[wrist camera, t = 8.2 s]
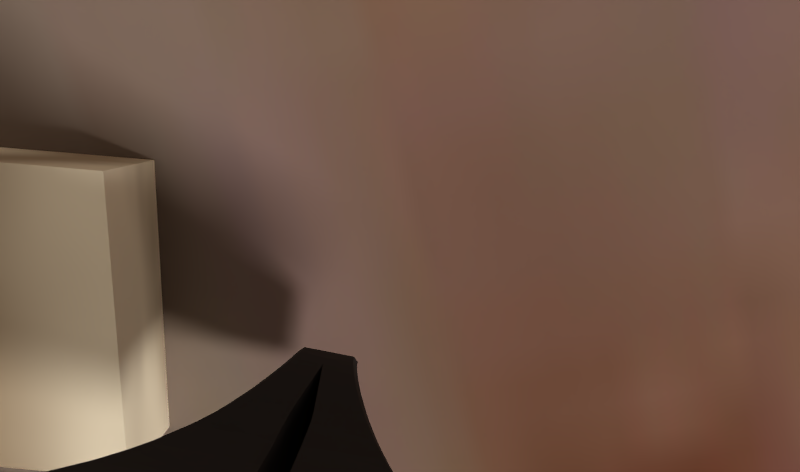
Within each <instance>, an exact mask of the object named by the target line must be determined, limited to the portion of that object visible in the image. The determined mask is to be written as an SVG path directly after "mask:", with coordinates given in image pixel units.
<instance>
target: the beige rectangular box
mask: <svg viewBox="0 0 800 472" xmlns="http://www.w3.org/2000/svg"><path fill="white" fill-rule="evenodd" d="M168 428H169V410H168V393H167V375H166V358H165V340H164V322H163V305H162V287H161V270H160V252H159V235H158V217H157V200H156V182H155V164H154V160H149V159H137V158H125V157H113V156H101V155H89V154H77V153H65V152H53V151H41V150H29V149H17V148H5V147H0V467H8V468H18V469H29V470H39V471H50V470H54V469H58V468H62V467H66V466H70V465H75V464H79V463H83V462H87V461H91V460H94V459H98V458H101V457H105V456H108V455H111V454H115V453H118V452H121V451H124V450H127V449H130V448H133V447H136V446H139V445H142V444H144V443H147V442H150V441H153V440H155V439H158V438H160V437H162V436H163V434H164V433H165V432H166V430H167V429H168Z"/></svg>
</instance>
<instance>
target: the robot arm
mask: <svg viewBox="0 0 800 472" xmlns="http://www.w3.org/2000/svg"><path fill="white" fill-rule="evenodd" d="M46 472H393V471H392V469H391V468H390V466H389V464H388V462H387V460H386V458H385V456H384V454H383V453H382V451H381V449H380V446H379V444H378V442H377V440H376V437H375V435H374V433H373V430H372V427H371V425H370V422H369V419H368V417H367V414H366V410H365V407H364V403H363V400H362V396H361V392H360V388H359V382H358V376H357V361H356V359H355V358H354V357H352V356H347V355H342V354H337V353H331V352H326V351H321V350H316V349H311V348H306V347H304V348H303V349H301V350H300V351H298V352H297V353H296V354H295V355H294V356H293V357H292V358H290V359H289V360H288V361H287V362H286V363H285V364H283V365H282V366H281V367H280V368H278V369H277V370H276V371H275V372H273V373H272V374H271V375H269V376H268V377H267V378H266V379H264V380H263V381H262V382H260V383H259V384H258V385H256V386H255V387H253V388H252V389H251V390H249V391H248V392H246V393H245V394H243V395H242V396H240V397H238V398H237V399H235V400H234V401H232V402H231V403H229V404H228V405H226V406H224V407H223V408H221V409H219V410H218V411H216V412H214V413H212V414H210V415H208V416H207V417H205V418H203V419H201V420H199V421H197V422H195V423H193V424H191V425H188V426H186V427H183V428H181V429H179V430H176V431H174V432H172V433H169V434H167V435H165V436H162V437H160V438H158V439H155V440H153V441H150V442H147V443H144V444H142V445H139V446H136V447H133V448H130V449H127V450H124V451H121V452H118V453H115V454H111V455H108V456H105V457H101V458H98V459H94V460H91V461H87V462H83V463H79V464H75V465H70V466H66V467H62V468H58V469H54V470H50V471H46Z"/></svg>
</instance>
